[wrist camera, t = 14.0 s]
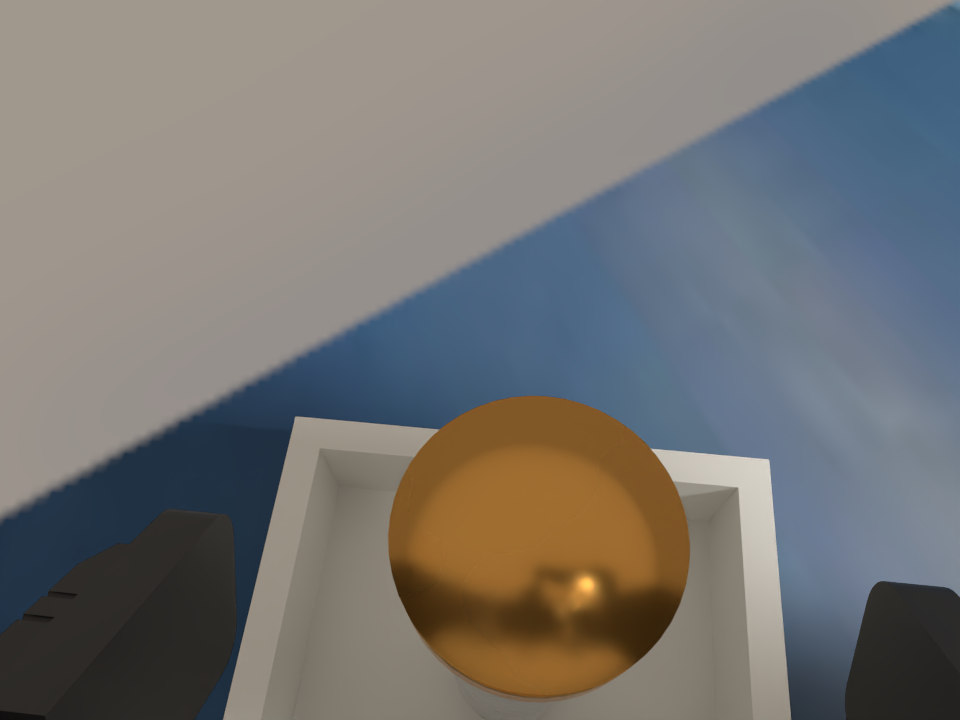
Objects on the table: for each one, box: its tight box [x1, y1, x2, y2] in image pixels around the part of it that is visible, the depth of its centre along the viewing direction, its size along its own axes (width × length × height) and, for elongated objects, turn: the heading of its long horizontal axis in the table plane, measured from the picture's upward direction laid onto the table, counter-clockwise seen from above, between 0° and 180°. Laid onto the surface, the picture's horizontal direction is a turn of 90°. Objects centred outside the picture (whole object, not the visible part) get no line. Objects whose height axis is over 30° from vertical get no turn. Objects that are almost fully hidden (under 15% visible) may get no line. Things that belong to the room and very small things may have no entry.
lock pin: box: [388, 396, 690, 720], centre depth 14 cm, size 3×3×12 cm
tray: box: [223, 416, 791, 720], centre depth 18 cm, size 12×10×4 cm
